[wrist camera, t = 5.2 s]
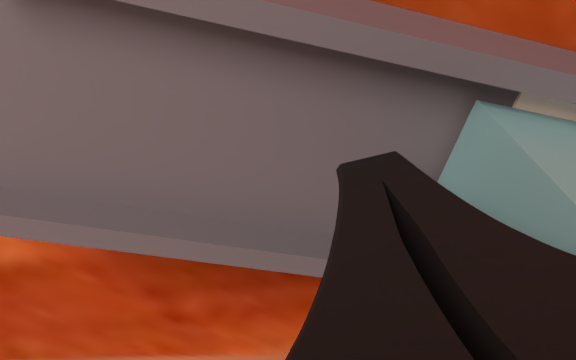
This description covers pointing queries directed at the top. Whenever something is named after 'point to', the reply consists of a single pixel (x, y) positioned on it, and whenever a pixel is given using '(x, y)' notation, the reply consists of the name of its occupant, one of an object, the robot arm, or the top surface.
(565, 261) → the robot arm
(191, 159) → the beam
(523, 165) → the rider
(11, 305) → the top surface
